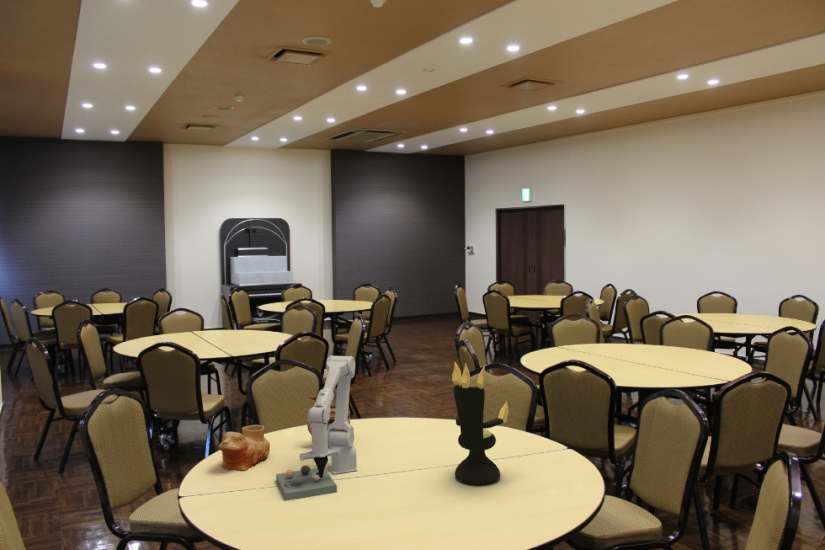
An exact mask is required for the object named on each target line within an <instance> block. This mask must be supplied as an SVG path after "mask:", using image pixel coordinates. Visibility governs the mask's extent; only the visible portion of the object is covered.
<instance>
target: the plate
mask: <svg viewBox="0 0 825 550" xmlns="http://www.w3.org/2000/svg"><path fill="white" fill-rule="evenodd" d="M293 472H294V475H293V477H292V478H287V477H286V475H285V474H286V472H280V473H276V474H275V477H276V478H275V481H276V483H277V485H278V488H279V490H280V492H281V494H282V496H283V497H284V500H285V501H292V500H298V499H305V498H310V497H316V496H321V495H328V494H333V493H337V492H338V489H337V488H338V485H337V483H336V482H335V481H334V479H333V478H332V477H331V475H330V474H329V473H328V471H327V470H326V468H325V469H324V473H323V478H320V480H319V481H313V480H312V474H313V473H315V472H318V468H317V467H316V468H315V467H314V468H310V472H309V473H308V474H307V475H303V474H302V473H301V470H296V471H294V470H293ZM318 473H319V472H318Z"/></svg>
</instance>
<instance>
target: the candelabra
mask: <svg viewBox="0 0 825 550" xmlns="http://www.w3.org/2000/svg"><path fill="white" fill-rule="evenodd" d="M451 376H452V378H451V380H452V381H451V382H452V384H453V385H454V386H453V397H454V402H455V406H456V411H457V412H456V413H457V414H456V417H455V425H456V426H457V427H458V426H459V429H460V430H459V431H460V434H459V435H458V436H457V443H458V445H459V446H460V447H461V448H463V449H464V450H468V451H469V452H468V455H467V456H466V457H465V458H464V459H463V460H462V461H461V462H460V463H459V464H458V465H457V467H455V471H454V476H455V478H456V479H457V480H458V481H460V482H461V483H463V484H466V485H472V486H474V485H475V486H482V485H489V484H494V483H495V482H497V481H498V479H499V478H501V471H500V469H499V467H498V465H497V464H495V462H494V461H492V460H491V459H490V458H489V457H488V456H487V455H486V451H487V450H490V449H492V448H494V446H495V445H496V443H497V437H496V436H495V434H493V433H492V432H491V431H490V430H488V429H491V428H494V427H496V426H497V427H498V426H501V425H502V424H503V423H504V424H505V423H507V422H508V416H509V405H508V400H505V403H504V404H503V406H501V408H500V410H499V414H498V417H496V418H493V419H490V420H487V421H484V414H485V413H484V410H485V398H486V391H485V388H484V385H485V380H486V368H485V364H484V365H483V366H482V369H481V370H480V372H479V374H478V377H477V379H476V380H477V381H476V386H470V385H471V381H470V379H471V375H470V371H469V368H468V365H467V363H466V362H465V364H464V367H463V371H461V369H460V367H459V366H458V364H457V362H456V361H454V366H453V371H452V375H451Z"/></svg>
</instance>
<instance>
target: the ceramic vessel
mask: <svg viewBox="0 0 825 550" xmlns="http://www.w3.org/2000/svg"><path fill="white" fill-rule="evenodd" d="M218 449H219V450H220V451H221V454H222V462H221V469H222V468H223V470H226V469H227V470H226V471H231V470H236V471H235V472H246V470H247V471H249V470H250V469H251V468H253V467H255V466H257V465H259V464H261V463H263V462H265V461H267V460H268V457H269V455H270V452H271V451H270V450H271V444H270V441H269V440H268V439H267V438H265V426H264V425H262V424H261V425H260V424H252V425H245V426H243V427H242V428H241V433H240V432H235V431H227V432H225V433H224V435H223V437H222V442H220V444H218ZM266 459H267V460H266ZM262 461H263V462H262ZM260 462H261V463H260ZM258 463H259V464H258ZM256 464H257V465H256ZM252 466H253V467H252ZM249 468H250V469H249ZM248 469H249V470H248Z"/></svg>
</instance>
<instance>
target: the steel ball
mask: <svg viewBox="0 0 825 550" xmlns="http://www.w3.org/2000/svg"><path fill="white" fill-rule="evenodd" d="M312 480H313V481H319V480H320V474H319V473H318V472H315V473H313V474H312Z"/></svg>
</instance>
